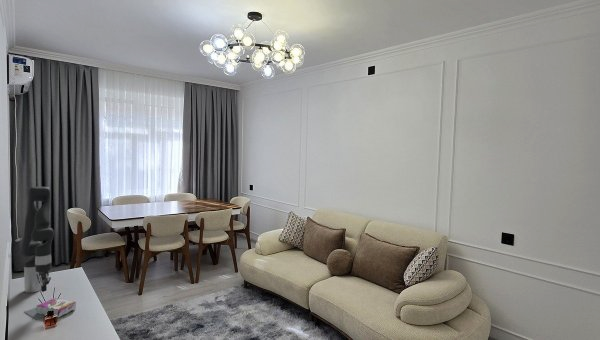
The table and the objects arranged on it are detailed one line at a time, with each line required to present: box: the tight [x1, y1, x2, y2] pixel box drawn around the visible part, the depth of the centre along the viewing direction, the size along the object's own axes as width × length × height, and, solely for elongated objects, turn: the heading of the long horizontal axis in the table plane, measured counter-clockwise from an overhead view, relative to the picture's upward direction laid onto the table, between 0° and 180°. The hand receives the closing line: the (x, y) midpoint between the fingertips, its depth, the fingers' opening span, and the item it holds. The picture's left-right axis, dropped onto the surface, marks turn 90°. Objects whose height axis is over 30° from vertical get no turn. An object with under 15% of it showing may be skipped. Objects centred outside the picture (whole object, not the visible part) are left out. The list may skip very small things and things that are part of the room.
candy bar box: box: [35, 297, 77, 318], centre depth 193 cm, size 11×5×16 cm
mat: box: [24, 307, 45, 321], centre depth 194 cm, size 16×14×1 cm
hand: (43, 291), depth 194 cm, fingers closed
